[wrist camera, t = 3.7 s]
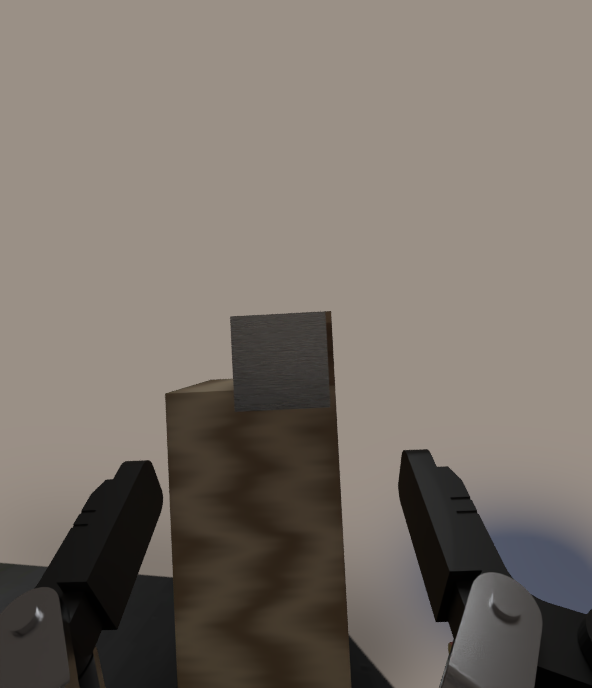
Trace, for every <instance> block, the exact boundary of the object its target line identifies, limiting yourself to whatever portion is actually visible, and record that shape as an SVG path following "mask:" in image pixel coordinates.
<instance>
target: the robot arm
mask: <svg viewBox="0 0 592 688" xmlns="http://www.w3.org/2000/svg"><path fill="white" fill-rule="evenodd" d="M398 489H399V497H400V502H401V506H402V509H403V513H404V516H405V519H406V523H407V526H408V529H409V533H410V536H411V540H412V543H413V547H414V550H415V553H416V557H417V560H418V563H419V567H420V570H421V574H422V577H423V580H424V584H425V587H426V591H427V593H428V597H429V601H430V604H431V607H432V611H433V614H434V618H435V621H436V622H449V625H450V628H451V631H452V634H453V638H454V640H453V643H452V646H451V650H450V653H449V656H448V660H447V663H446V666H445V670H444V673H443V676H442V679H441V683H440V686H439V688H592V609H591V610H590V611H589V613H588V614H583V613H580V612H576V611H573V610H570V609H567V608H563V607H560V606H557V605H554V604H550V603H547V602H545V601H542V600H540V599H538V598H536V597H535V596H533V595H531V594H530V593H529V592H528V591H527V590H526V589H525V588H524V587H523V586H522V585H521V584H519V583H518V582H517V581H515V580H514V579H513V578H512V577H511V575H510V574H509V572H508V571H507V569H506V567H505V566H504V564H503V562H502V560H501V558H500V556H499V554H498V552H497V550H496V548H495V546H494V544H493V542H492V540H491V538H490V536H489V534H488V532H487V530H486V528H485V526H484V524H483V522H482V520H481V518H480V516H479V514H477V510H476V508H475V506H474V504H473V502H472V500H470V496H469V494H468V492H467V490H466V488H465V486H464V484H463V482H462V480H461V479H460V478H459V477H458V476H457V475H456V474H455V473H454V472H453V471H452V470H451V469H450V468H449V467H436V464H435V462H434V460H433V457H432V455H431V453H430V452H429V450H427V449H424V450H403V452H402V457H401V466H400V474H399V482H398ZM162 505H163V494H162V489H161V487H160V484H159V481H158V479H157V476H156V473H155V470H154V467H153V465H152V463H151V461H149V460H146V461H125V462H124V463H122V465H121V466H120V468H119V470H118V471H117V473H116V475H115V477H114V479H110V480H105V481H104V482H103V483H102V484H101V485H100V486H99V487H98V488H97V489H96V490H95V491H94V492H93V493H92V494H91V496H90V497H89V499H88V500H87V502H86V504H85V505H84V507H83V509H82V513H81V514H79V516H78V518H77V519H76V521H75V522H74V524H73V525H74V526H73V528H71V529H70V531H69V533H68V534H67V536H66V538H65V540H64V541H63V543H62V544H61V546H60V548H59V550H58V551H57V553H56V554H55V556H54V558H53V560H52V561H51V563H50V565H49V566H48V568H47V570H46V571H45V573H44V575H43V576H42V578H41V580H40V581H39V583H38V584H37V586H36V587H35V588H34V589H33V590H30V591H28V592H26V593H24V594H22V595H21V596H19V597H18V598H17V599H15V600H14V601H13V602H12V603H10V604H9V605H8V606H7V607H6V608H5V609H4V611H3V612H2V613H1V614H0V688H105V685H104V680H103V675H102V670H101V666H100V661H99V656H98V651H97V648H96V646H95V645H96V643H97V641H98V638H99V636H100V633H101V631H102V630H117V629H118V626H119V624H120V621H121V618H122V615H123V613H124V610H125V607H126V605H127V602H128V599H129V597H130V594H131V591H132V588H133V586H134V583H135V580H136V578H137V575H138V572H139V570H140V567H141V564H142V561H143V559H144V556H145V553H146V551H147V548H148V545H149V542H150V540H151V537H152V535H153V532H154V529H155V527H156V523H157V521H158V518H159V516H160V513H161V509H162Z"/></svg>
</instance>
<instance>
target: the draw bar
mask: <svg viewBox="0 0 592 688" xmlns="http://www.w3.org/2000/svg"><path fill="white" fill-rule="evenodd" d="M230 323H231V343H232V364H233V387H234V408H235V412H243V411H265V410H286V409H308V408H329V407H330V391H329V372H328V353H327V335H326V316H325V312H306V313H288V314H271V315H252V316H233V317H230Z"/></svg>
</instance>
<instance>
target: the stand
mask: <svg viewBox="0 0 592 688" xmlns="http://www.w3.org/2000/svg"><path fill="white" fill-rule="evenodd" d="M325 316H326V335H327V353H328V372H329V391H330V407H329V408H308V409H286V410H265V411H243V412H235V408H234V387H233V379H218V380H209V381H206V382H202V383H199V384H196V385H192V386H189V387H186V388H182V389H179V390H176V391H172V392H169V393H166V394H165V400H166V423H167V446H168V468H169V469H168V470H169V493H170V516H171V540H172V563H173V587H174V610H175V633H176V656H177V680H178V688H351V675H350V657H349V638H348V621H347V620H348V619H347V601H346V584H345V563H344V548H343V547H344V545H343V526H342V508H341V489H340V471H339V453H338V433H337V414H336V396H335V377H334V359H333V340H332V321H331V311H327V312H326V311H325Z"/></svg>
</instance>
